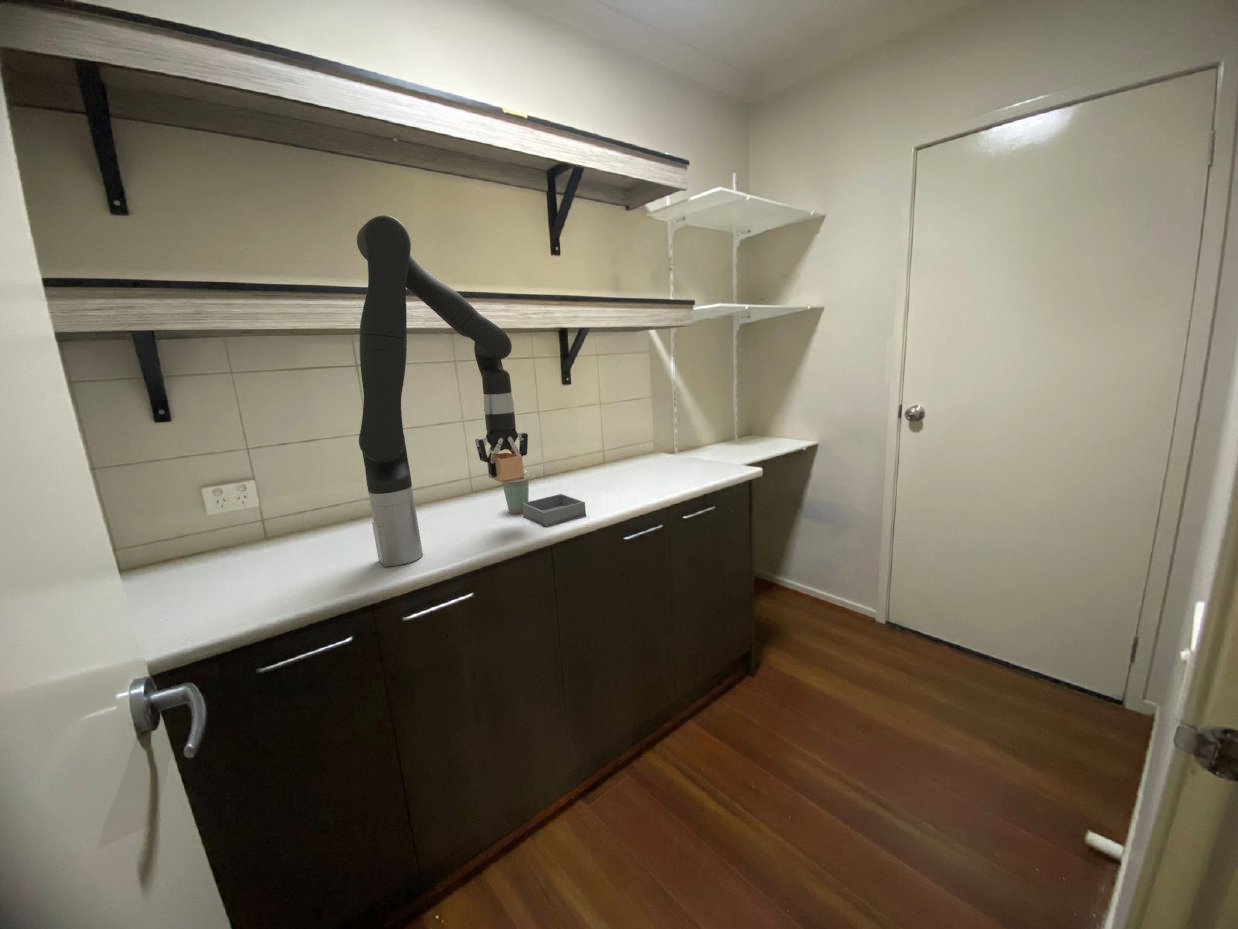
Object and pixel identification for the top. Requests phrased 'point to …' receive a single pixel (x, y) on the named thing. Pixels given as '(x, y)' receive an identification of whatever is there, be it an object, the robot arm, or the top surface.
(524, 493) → the coffee cup
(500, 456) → the small crate
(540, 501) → the big crate
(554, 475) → the top surface
